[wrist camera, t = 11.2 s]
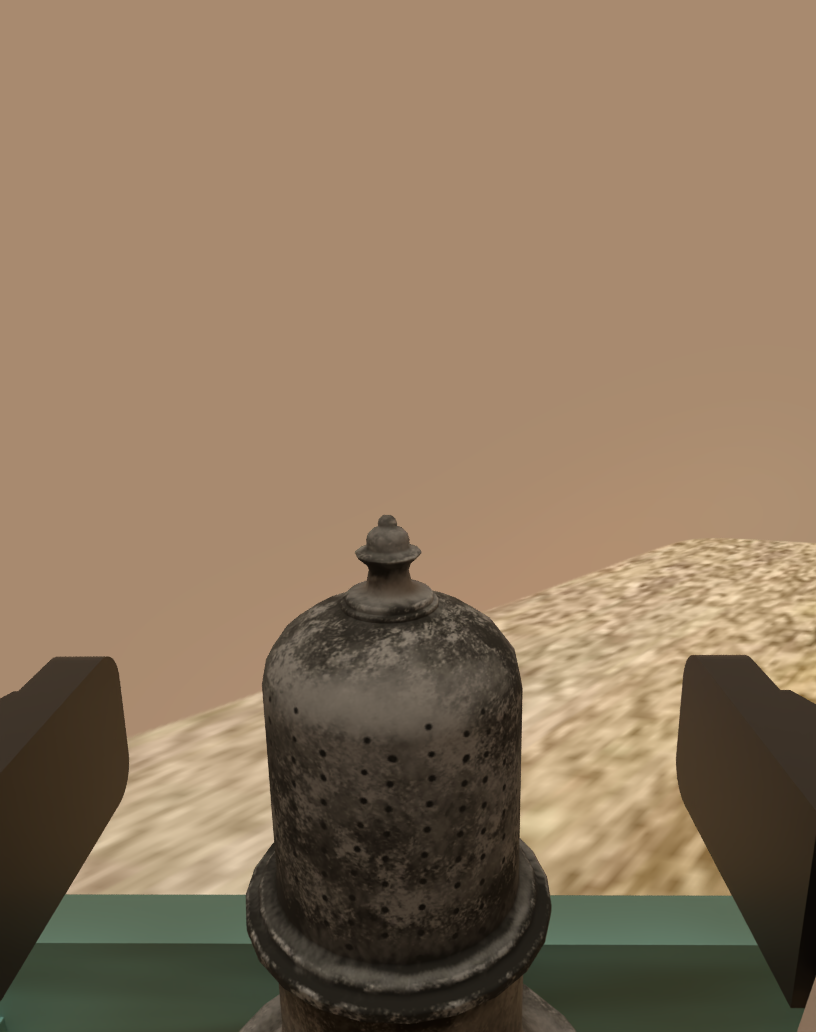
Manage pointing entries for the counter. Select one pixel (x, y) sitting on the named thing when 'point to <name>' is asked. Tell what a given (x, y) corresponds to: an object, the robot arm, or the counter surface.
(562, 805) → the counter surface
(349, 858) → the salt shaker
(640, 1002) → the track
